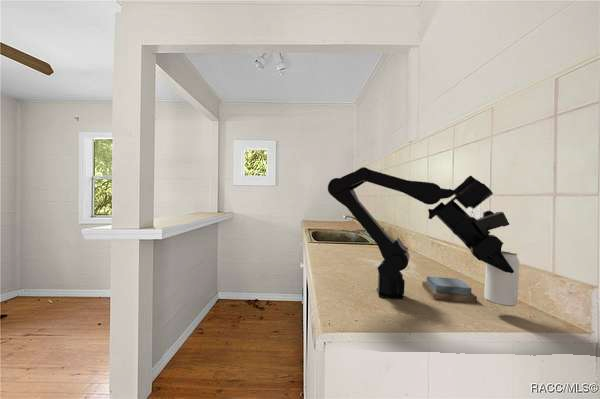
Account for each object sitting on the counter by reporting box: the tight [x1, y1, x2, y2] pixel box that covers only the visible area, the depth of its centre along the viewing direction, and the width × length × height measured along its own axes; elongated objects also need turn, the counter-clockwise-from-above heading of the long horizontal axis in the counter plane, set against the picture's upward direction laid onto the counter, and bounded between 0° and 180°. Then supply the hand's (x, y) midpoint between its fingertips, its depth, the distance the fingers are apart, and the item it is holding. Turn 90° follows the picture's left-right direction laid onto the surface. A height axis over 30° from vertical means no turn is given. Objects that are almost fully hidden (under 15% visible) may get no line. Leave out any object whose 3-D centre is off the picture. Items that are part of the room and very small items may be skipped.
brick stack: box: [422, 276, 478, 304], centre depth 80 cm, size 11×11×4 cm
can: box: [483, 250, 520, 307], centre depth 66 cm, size 6×6×12 cm
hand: (508, 269), depth 66 cm, fingers closed on can, 6 cm apart
